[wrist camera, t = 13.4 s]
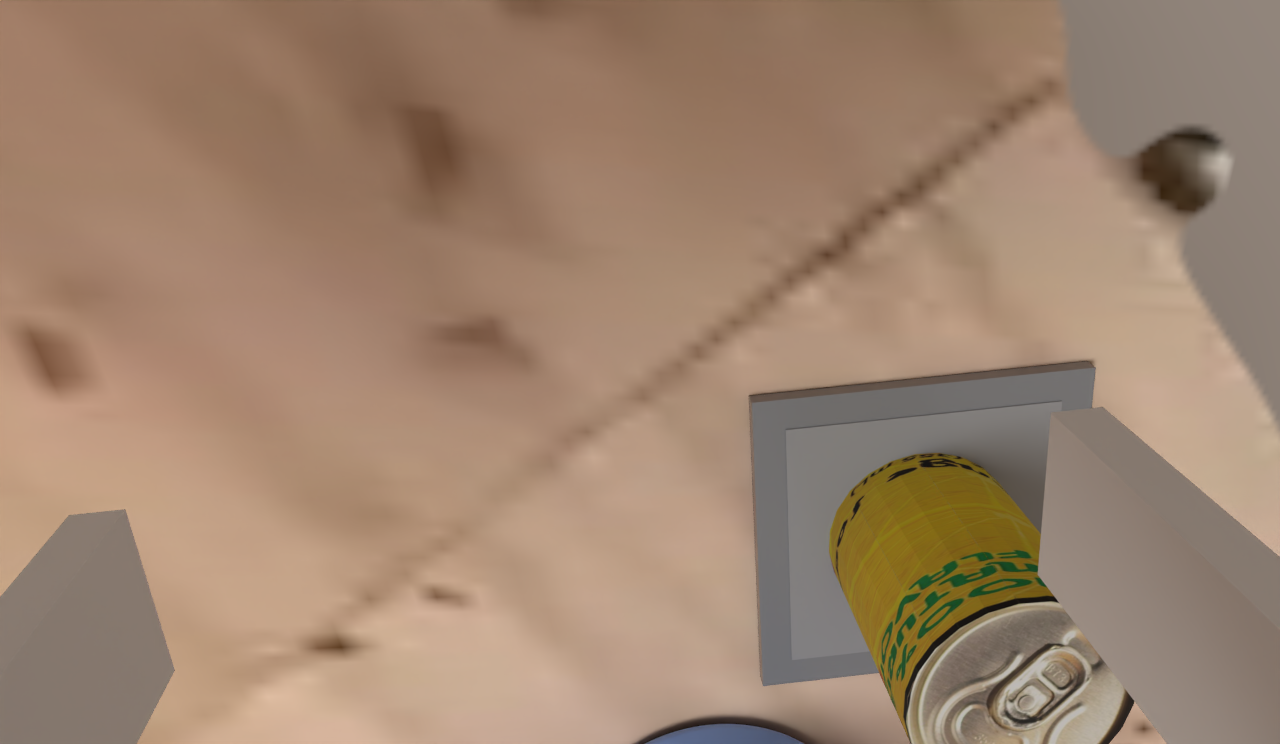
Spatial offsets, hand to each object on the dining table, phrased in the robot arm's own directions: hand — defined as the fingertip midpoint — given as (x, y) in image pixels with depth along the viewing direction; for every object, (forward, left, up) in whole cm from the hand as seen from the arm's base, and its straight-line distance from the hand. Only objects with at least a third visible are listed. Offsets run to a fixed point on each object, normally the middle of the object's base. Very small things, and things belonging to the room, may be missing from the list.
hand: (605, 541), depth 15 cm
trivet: (+15, -20, -31) cm, 40 cm away
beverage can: (+15, -20, -30) cm, 39 cm away
